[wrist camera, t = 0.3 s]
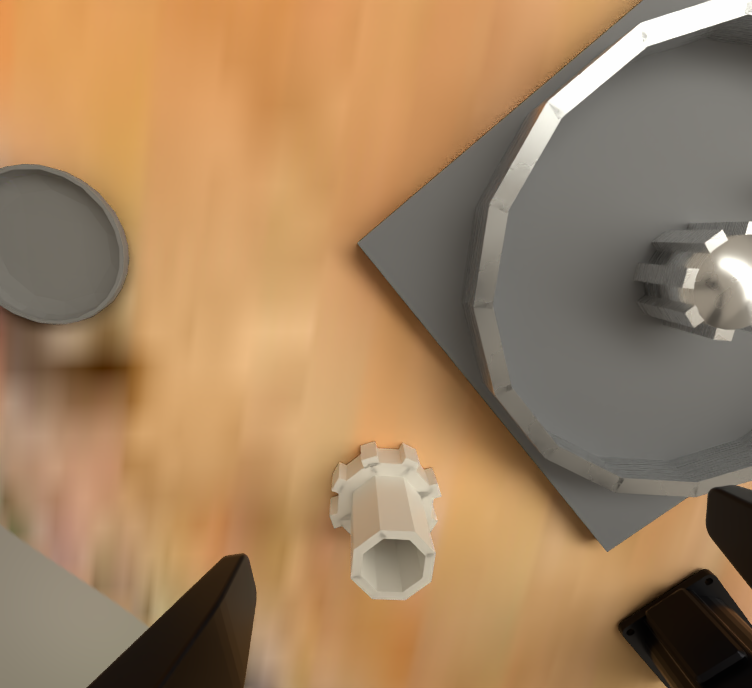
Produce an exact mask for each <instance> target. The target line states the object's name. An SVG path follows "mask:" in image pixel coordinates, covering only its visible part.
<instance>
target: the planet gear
mask: <svg viewBox="0 0 752 688" xmlns="http://www.w3.org/2000/svg"><path fill="white" fill-rule="evenodd" d="M331 491H333V492H336V493H338V496H335V497H332V498H331V501H330V514H329V516H330V519H331V521H332V524H333V526H334V529H335V528H338V527H341V526H342V527H343V528H344V529H345V530H346V531H347V532H348V533H350V534H351V579H352V580H353V581H354V582H355V583H356V584H357V585H358V586H359V587H360V588H361V589H362V590H363V591H364V592H365V593H366V594H368V595H369V596H370V597H371V598H372V599H386V600H406V599H408V598H409V597H410V596H412V595H413V594H415V593H416V592H417V591H419V590H420V589H422V588H423V587H424V586H426V585H427V584H429V583H430V582H431V580H432V574H433V568H434V561H435V555H436V553H435V549H434V545H433V541H432V538H431V534H430V532H431V531H432V529H433V528H434V526H435V525H436V523H437V521H438V520H437V517H436V514H435V510H434V507H433V500H434V499H435V498H438V497H442V496H441V493H440V490H439V486H438V483H437V480H436V477H435V474H434V472H433V469H432V468H428V469H425V470H424V468H423V467H422V466H421V465H420V462H419V459H418V455H417V452H416V449H415V448H412V447H410V446H408V445H406V444H404V443H402V444H401V446H400V448H399V449H385V448H377V445H376V442H375V441H374V442H371V443H367V444H364V445H361V454H360V455H359V456H358V457H356V458H355V459H354V460H352V461H351V462H350V463H349V464H347V465H345V464H343V463H341V462H339V464H338V465H337V467H336V469H335V471H334V473H333V476H332V489H331Z"/></svg>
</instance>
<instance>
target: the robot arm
mask: <svg viewBox="0 0 752 688" xmlns="http://www.w3.org/2000/svg"><path fill="white" fill-rule="evenodd" d="M706 528H707V531H708V533H709V535H710V537H711V538H712V540H713V541H714V542H715V544H716V545H717V546H718V547H719V549H720V550H721V551H722V552H723V554H724V555H725V556H726V557H727V559H728V560H729V561H730V562H731V564H732V565H733V566H734V568H735V569H736V570H737V571H738V573H739V574H740V575H741V576H742V578H743V579H744V580H745V581H746V583H747V584H748V585H749V586H750V588H751V589H752V490H750V489H746V488H743V487H740V486H736V485H727V486H720V487H714V488H712V489H710V491H709V492H708V498H707V512H706ZM255 607H256V587H255V582H254V578H253V574H252V570H251V566H250V561H249V558H248V556H247V555H246V554H244V553H242V554H235V555H228V556H225V557H223V558H222V559H221V560H220V561H219V562H218V563H217V564H216V565H215V566H213V567H212V568H211V569H210V570H209V571H208V572H207V573H206V574H205V575H204V576H203V577H202V578H201V579H200V580H199V581H198V582H197V583H196V584H195V585H194V586H193V587H192V588H190V589H189V590H188V591H187V592H186V593H185V594H184V595H183V596H182V597H181V598H180V599H179V600H178V601H177V602H176V603H175V604H174V605H173V606H172V607H171V608H170V609H168V610H167V611H166V612H165V613H164V614H163V615H162V616H161V617H160V618H159V619H158V620H157V621H156V622H155V623H154V624H153V625H152V626H151V627H150V628H149V629H148V630H147V631H145V632H144V633H143V634H142V635H141V636H140V637H139V638H138V639H137V640H136V641H135V642H134V643H133V644H132V645H131V646H130V647H129V648H128V649H127V650H126V651H125V652H123V653H122V654H121V655H120V657H118V658H117V659H116V660H115V661H114V662H113V663H112V664H111V665H110V666H109V667H108V668H107V669H106V670H105V671H104V672H103V673H102V674H100V675H99V676H98V677H97V679H95V680H94V681H93V682H92V683H91V684H90V685H89V686H88V687H87V688H244V682H245V676H246V669H247V662H248V656H249V649H250V642H251V635H252V628H253V621H254V614H255ZM618 629H619V631H620V632H621V634H622V635H623V637H624V638H625V639H626V640H627V641H628V643H629V644H630V645H631V646H632V647H633V648H634V650H635V651H636V652H637V653H638V654H639V655H640V657H641V658H642V659H643V660H644V661H645V662H646V664H647V665H648V666H649V667H650V668H651V669H652V671H653V672H654V673H655V674H656V675H657V676H658V678H659V679H660V680H661V681H662V682H663V683H664V684H665V686H666V687H667V688H752V625H751V624H750V622H749V621H748V619H747V618H746V617H745V615H744V614H743V613H742V611H741V610H740V608H739V607H738V606H737V604H736V603H735V602H734V600H733V599H732V598H731V596H730V595H729V593H728V592H727V591H726V589H725V588H724V587H723V585H722V584H721V582H720V581H719V580H718V578H717V577H716V576H715V575H714V574H713V573H712V572H711V571H709V570H707V569H703V570H701V571H699V572H697V573H696V574H694V575H693V576H691V577H690V578H688V579H687V580H685V581H684V582H682V583H680V584H679V585H677V586H676V587H674V588H673V589H671V590H670V591H668V592H667V593H665V594H664V595H662V596H661V597H659V598H658V599H656V600H654V601H653V602H651V603H650V604H648V605H647V606H645V607H644V608H642V609H641V610H639V611H638V612H636V613H635V614H633V615H631V616H630V617H628V618H627V619H625V620H624V621H622V622H621V623H620V624H619V627H618Z"/></svg>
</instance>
